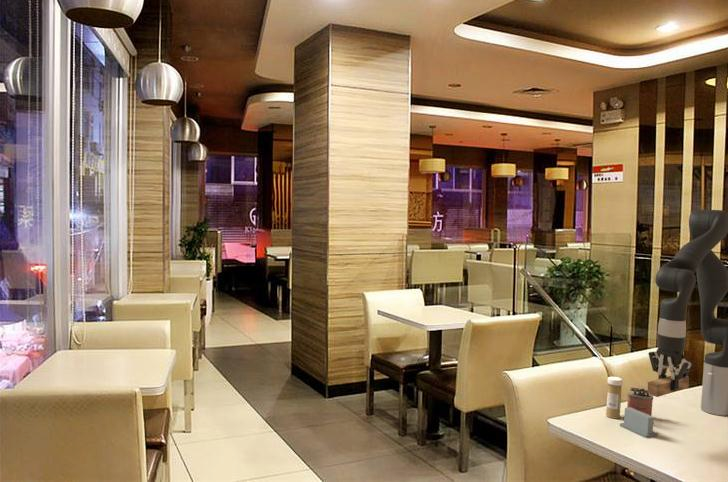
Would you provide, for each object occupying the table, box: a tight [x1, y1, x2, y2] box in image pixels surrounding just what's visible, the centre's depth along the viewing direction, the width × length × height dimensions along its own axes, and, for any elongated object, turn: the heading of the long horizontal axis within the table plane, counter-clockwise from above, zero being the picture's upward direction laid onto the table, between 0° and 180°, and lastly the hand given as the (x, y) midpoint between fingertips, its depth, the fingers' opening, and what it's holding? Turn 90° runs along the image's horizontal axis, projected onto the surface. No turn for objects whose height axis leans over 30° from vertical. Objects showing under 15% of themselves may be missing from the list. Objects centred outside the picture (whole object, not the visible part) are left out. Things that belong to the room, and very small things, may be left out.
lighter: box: [626, 386, 654, 417], centre depth 199 cm, size 8×3×10 cm, turn 71°
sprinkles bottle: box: [605, 376, 623, 420], centre depth 197 cm, size 5×5×14 cm
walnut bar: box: [647, 375, 690, 398], centre depth 176 cm, size 14×3×4 cm, turn 115°
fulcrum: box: [619, 407, 658, 439], centre depth 186 cm, size 5×10×6 cm, turn 24°
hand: (667, 388), depth 177 cm, fingers closed on walnut bar, 3 cm apart
